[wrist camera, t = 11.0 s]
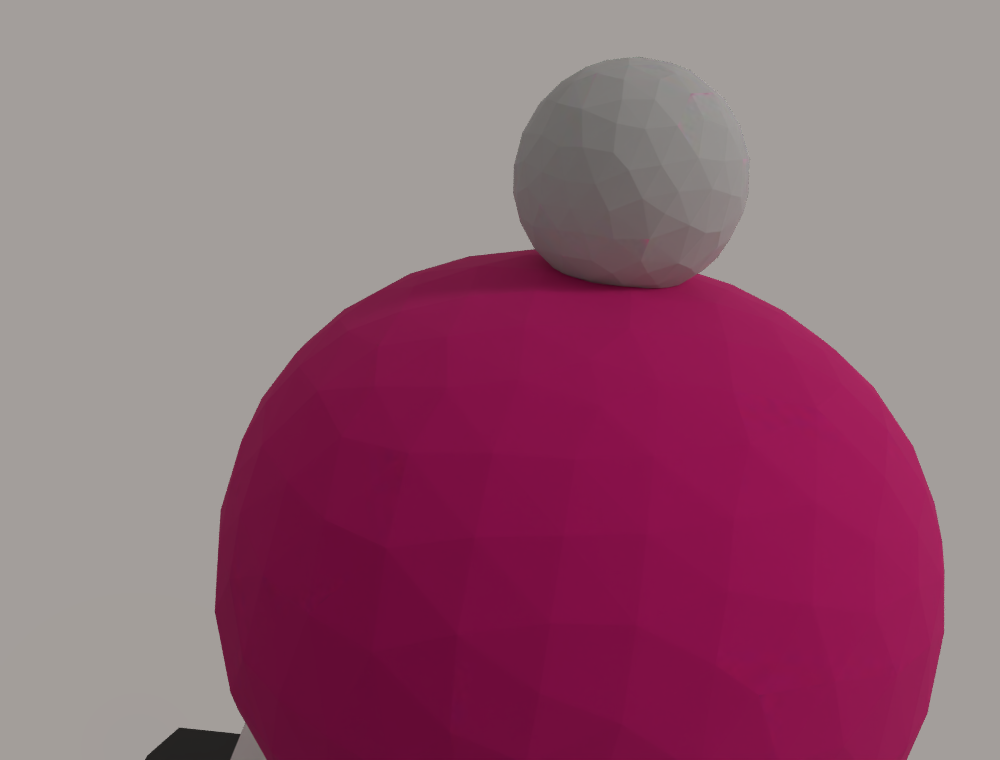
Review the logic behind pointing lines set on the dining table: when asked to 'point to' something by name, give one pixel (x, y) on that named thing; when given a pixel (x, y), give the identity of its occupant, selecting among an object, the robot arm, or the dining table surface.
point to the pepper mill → (583, 489)
